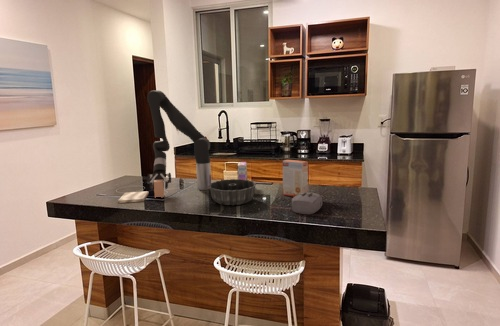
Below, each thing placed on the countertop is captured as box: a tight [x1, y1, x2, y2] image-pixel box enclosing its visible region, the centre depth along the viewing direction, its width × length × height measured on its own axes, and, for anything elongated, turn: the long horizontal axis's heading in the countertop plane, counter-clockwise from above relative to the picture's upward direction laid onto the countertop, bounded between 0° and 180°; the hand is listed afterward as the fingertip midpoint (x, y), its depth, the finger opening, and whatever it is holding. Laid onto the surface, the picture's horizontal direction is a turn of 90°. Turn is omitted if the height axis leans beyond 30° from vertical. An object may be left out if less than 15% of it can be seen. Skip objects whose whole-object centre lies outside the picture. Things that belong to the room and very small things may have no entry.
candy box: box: [236, 161, 248, 180], centre depth 208 cm, size 14×6×16 cm, turn 179°
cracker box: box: [282, 159, 309, 197], centre depth 186 cm, size 14×6×21 cm, turn 47°
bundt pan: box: [209, 178, 257, 206], centre depth 179 cm, size 26×26×10 cm
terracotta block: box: [153, 179, 165, 199], centre depth 192 cm, size 5×5×10 cm
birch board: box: [117, 190, 149, 204], centre depth 191 cm, size 14×18×2 cm
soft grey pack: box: [290, 192, 323, 215], centre depth 163 cm, size 15×8×20 cm
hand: (158, 188), depth 192 cm, fingers open, 8 cm apart
